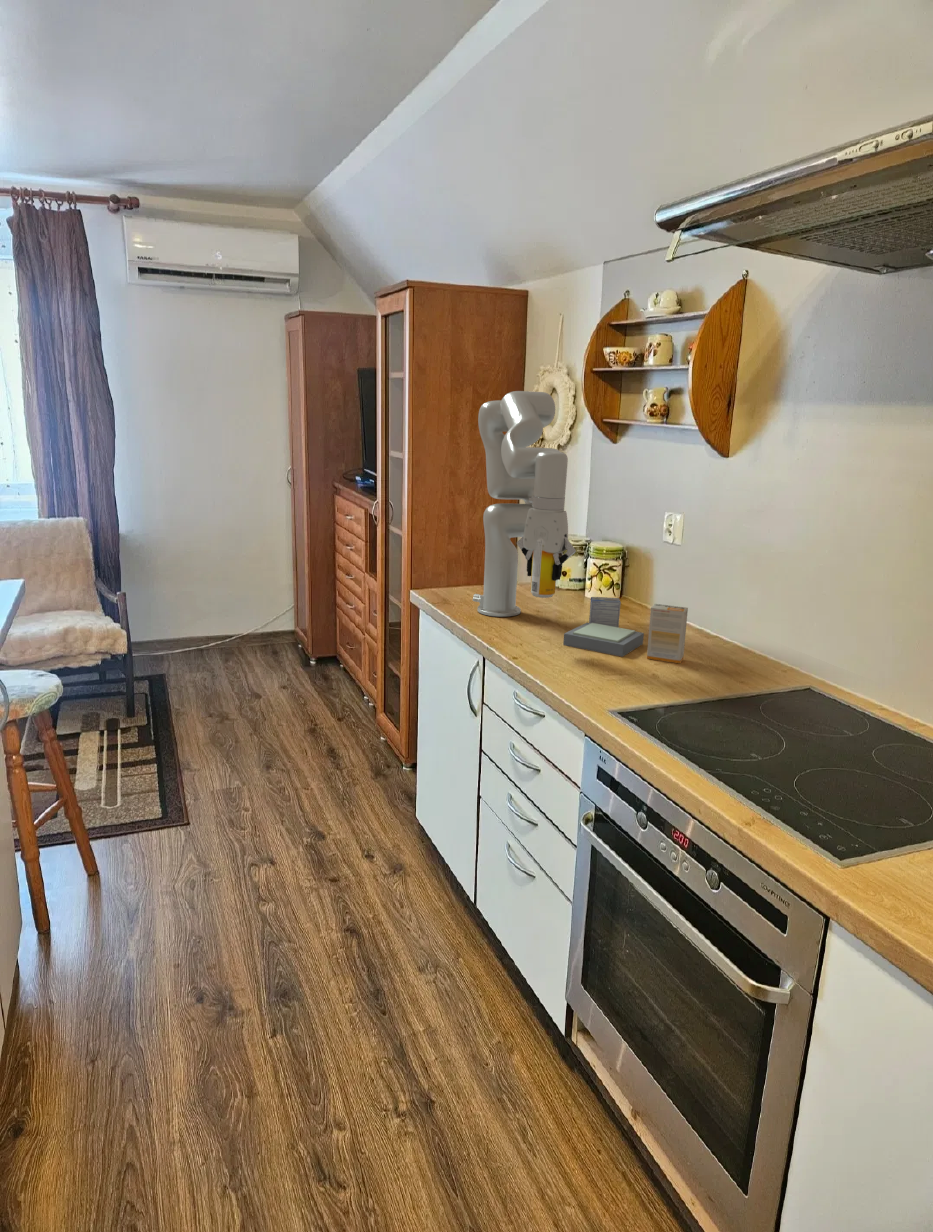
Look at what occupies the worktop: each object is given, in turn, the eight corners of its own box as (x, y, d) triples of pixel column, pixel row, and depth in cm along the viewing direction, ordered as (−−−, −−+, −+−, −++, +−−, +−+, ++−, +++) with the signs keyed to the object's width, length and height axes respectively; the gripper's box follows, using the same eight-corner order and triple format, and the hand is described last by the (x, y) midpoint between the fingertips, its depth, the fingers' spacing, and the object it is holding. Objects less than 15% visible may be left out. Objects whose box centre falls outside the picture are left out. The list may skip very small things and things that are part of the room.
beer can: (559, 595, 201) (564, 535, 197) (544, 599, 197) (548, 538, 193) (540, 590, 205) (544, 531, 201) (525, 594, 201) (528, 534, 196)
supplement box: (683, 659, 200) (689, 607, 196) (680, 664, 195) (685, 611, 192) (650, 653, 203) (655, 602, 200) (645, 659, 199) (650, 606, 195)
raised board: (563, 644, 208) (564, 631, 207) (586, 633, 219) (586, 620, 218) (622, 656, 200) (623, 643, 199) (642, 644, 211) (644, 631, 210)
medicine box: (617, 628, 226) (619, 597, 224) (618, 632, 222) (621, 601, 219) (588, 626, 226) (590, 596, 224) (589, 630, 222) (591, 599, 220)
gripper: (509, 501, 196) (505, 574, 201) (574, 509, 187) (568, 586, 192) (524, 498, 202) (520, 569, 207) (588, 506, 193) (582, 580, 198)
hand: (543, 576), depth 199 cm, fingers closed on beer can, 6 cm apart
